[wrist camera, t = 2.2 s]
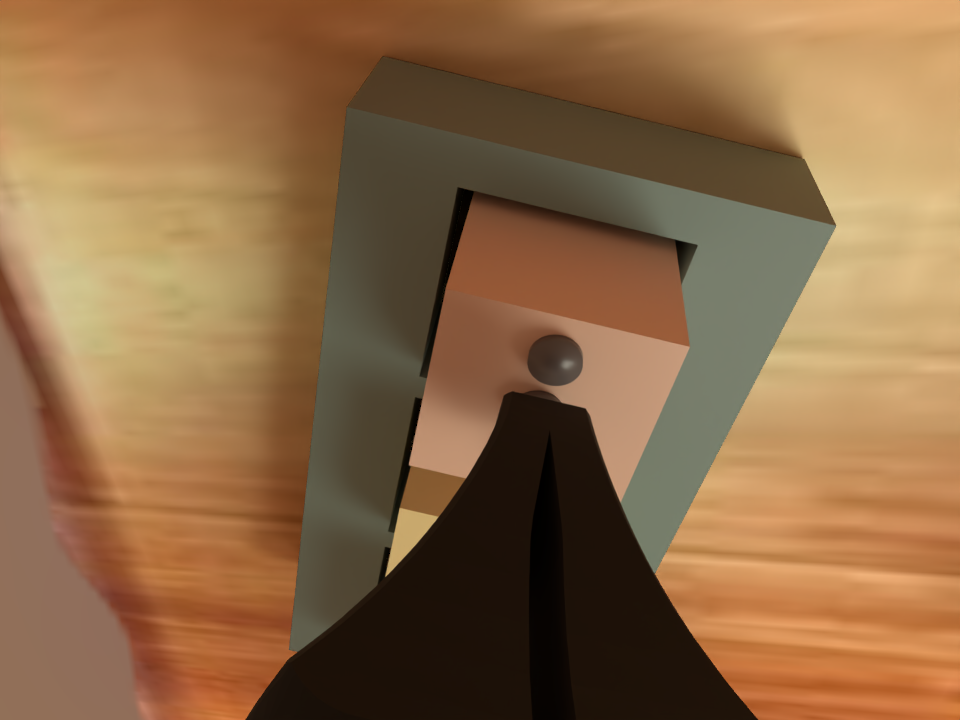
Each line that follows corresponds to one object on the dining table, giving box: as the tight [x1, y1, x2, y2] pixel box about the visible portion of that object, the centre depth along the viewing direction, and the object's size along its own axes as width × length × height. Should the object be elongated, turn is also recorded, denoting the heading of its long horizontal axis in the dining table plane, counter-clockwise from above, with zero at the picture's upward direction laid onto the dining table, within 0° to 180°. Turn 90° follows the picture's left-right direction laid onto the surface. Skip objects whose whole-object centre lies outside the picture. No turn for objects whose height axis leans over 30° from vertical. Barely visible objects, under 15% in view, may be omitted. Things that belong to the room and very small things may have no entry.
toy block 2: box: [409, 191, 690, 503], centre depth 16 cm, size 4×4×5 cm
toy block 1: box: [385, 466, 466, 577], centre depth 19 cm, size 4×4×5 cm
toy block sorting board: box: [289, 56, 836, 652], centre depth 21 cm, size 17×9×3 cm, turn 168°
